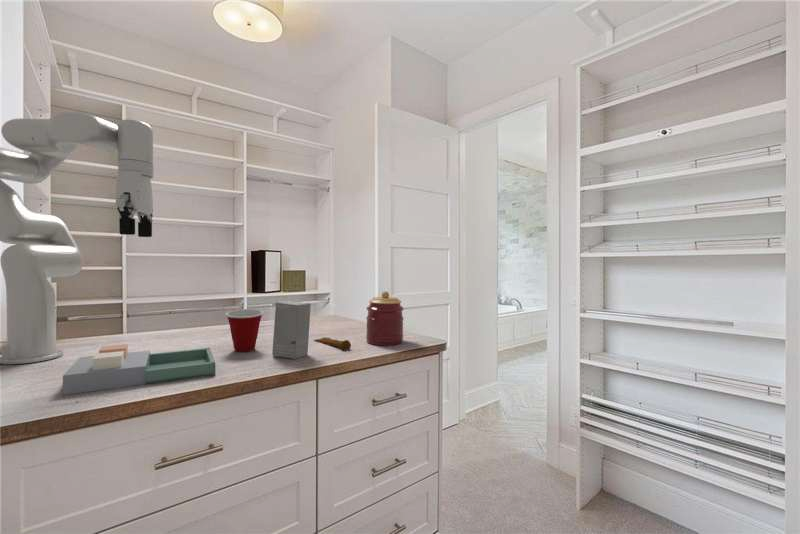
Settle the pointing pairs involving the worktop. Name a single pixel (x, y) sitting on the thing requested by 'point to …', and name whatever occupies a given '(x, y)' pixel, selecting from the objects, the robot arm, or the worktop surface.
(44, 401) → the worktop surface
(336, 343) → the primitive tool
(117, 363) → the tile cream
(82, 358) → the grey board
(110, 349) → the tile terracotta
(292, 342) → the skincare box
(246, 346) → the plastic cup
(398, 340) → the canister
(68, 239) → the robot arm
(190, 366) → the tray
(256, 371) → the worktop surface
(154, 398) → the worktop surface
